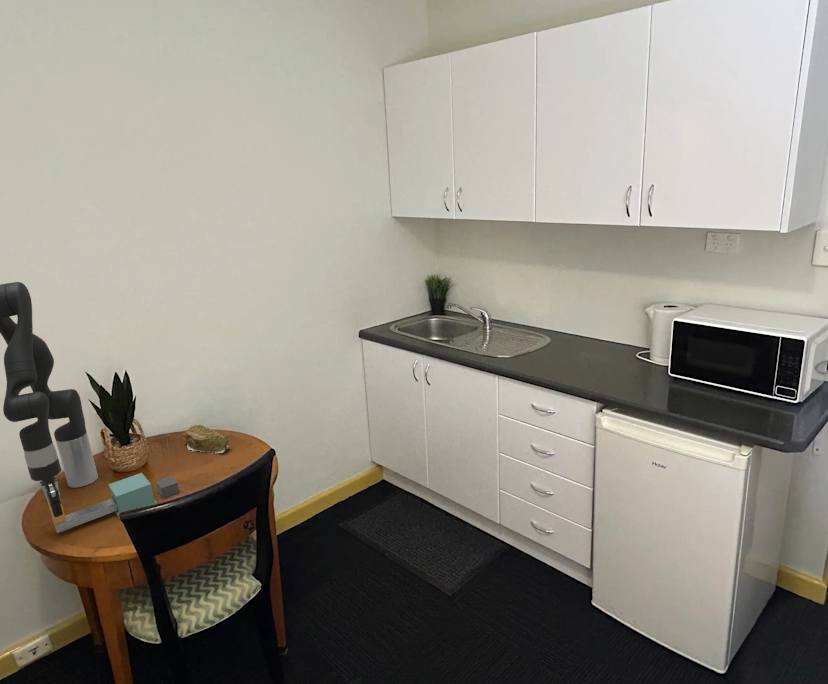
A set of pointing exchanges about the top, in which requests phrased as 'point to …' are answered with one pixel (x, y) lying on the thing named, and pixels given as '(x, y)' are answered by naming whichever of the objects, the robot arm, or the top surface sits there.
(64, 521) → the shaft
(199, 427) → the stone
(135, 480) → the block
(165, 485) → the block
